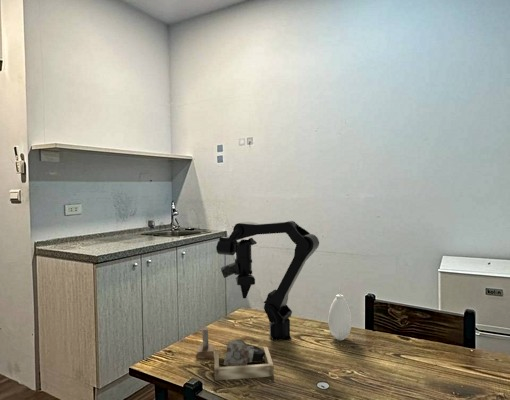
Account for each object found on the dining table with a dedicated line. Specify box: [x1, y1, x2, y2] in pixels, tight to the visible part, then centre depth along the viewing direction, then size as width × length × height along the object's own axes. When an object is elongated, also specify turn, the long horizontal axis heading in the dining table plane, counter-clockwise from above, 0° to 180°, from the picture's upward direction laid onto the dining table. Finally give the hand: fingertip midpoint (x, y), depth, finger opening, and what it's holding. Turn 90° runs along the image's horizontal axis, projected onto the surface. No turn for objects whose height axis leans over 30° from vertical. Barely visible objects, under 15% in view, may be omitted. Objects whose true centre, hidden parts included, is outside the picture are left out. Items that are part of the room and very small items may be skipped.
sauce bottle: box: [327, 287, 353, 341], centre depth 125 cm, size 8×8×18 cm
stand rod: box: [196, 327, 215, 359], centre depth 115 cm, size 5×5×8 cm
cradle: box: [213, 346, 275, 381], centre depth 106 cm, size 16×12×3 cm
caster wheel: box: [223, 338, 264, 367], centre depth 110 cm, size 7×11×10 cm
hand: (244, 298), depth 134 cm, fingers closed
